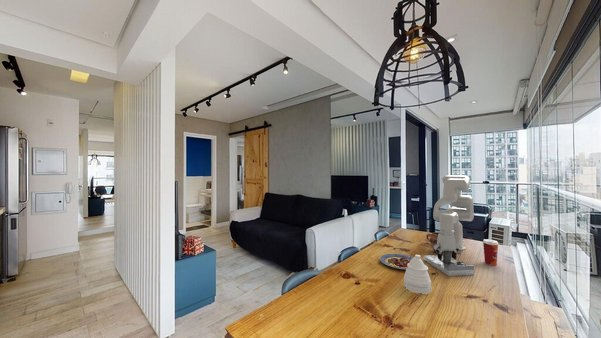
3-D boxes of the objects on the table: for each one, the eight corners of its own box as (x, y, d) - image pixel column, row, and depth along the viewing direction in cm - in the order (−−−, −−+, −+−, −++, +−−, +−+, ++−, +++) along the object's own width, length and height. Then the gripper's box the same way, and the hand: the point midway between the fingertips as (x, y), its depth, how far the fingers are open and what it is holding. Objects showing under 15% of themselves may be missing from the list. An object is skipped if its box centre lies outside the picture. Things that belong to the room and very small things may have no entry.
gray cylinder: (441, 265, 148) (441, 250, 149) (447, 265, 149) (447, 249, 149) (446, 268, 144) (446, 252, 144) (452, 268, 144) (452, 252, 144)
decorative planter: (421, 249, 179) (421, 231, 179) (430, 246, 185) (429, 229, 185) (448, 257, 162) (448, 237, 162) (457, 254, 168) (457, 235, 168)
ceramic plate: (412, 257, 164) (412, 252, 164) (429, 273, 138) (429, 268, 138) (375, 256, 167) (375, 252, 167) (385, 271, 141) (385, 267, 141)
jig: (423, 259, 158) (423, 252, 158) (445, 258, 159) (445, 251, 159) (448, 276, 134) (448, 266, 134) (474, 274, 135) (474, 265, 135)
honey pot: (435, 295, 113) (434, 259, 113) (407, 293, 116) (406, 258, 116) (426, 283, 126) (425, 250, 126) (401, 281, 129) (401, 249, 129)
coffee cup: (499, 267, 145) (499, 243, 145) (482, 264, 150) (482, 241, 150) (498, 262, 152) (498, 240, 152) (482, 259, 157) (482, 238, 157)
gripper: (454, 230, 151) (455, 256, 151) (429, 231, 150) (430, 257, 150) (463, 233, 143) (464, 260, 143) (437, 234, 142) (438, 262, 142)
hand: (446, 259), depth 146 cm, fingers open, 9 cm apart
